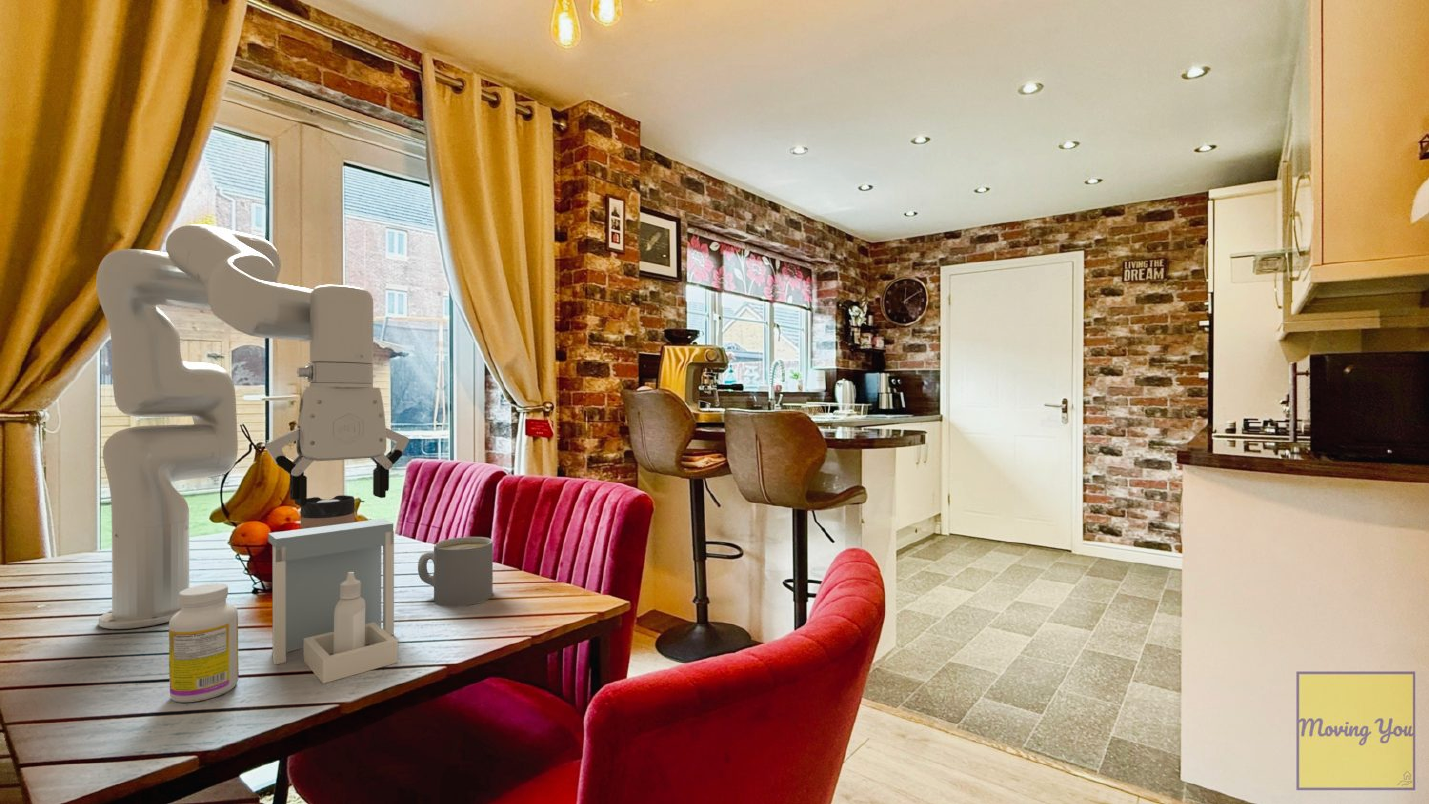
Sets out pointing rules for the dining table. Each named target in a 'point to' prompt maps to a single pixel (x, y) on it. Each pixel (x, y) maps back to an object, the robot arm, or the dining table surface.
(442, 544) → the coffee mug
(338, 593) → the roller blind
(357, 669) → the socket
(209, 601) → the supplement bottle
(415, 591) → the dining table surface
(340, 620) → the eye dropper bottle
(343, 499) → the travel mug
